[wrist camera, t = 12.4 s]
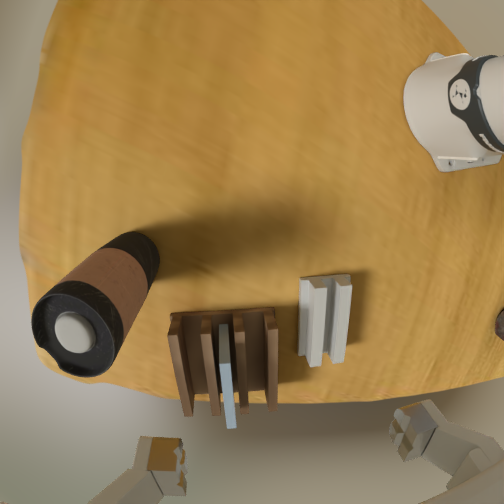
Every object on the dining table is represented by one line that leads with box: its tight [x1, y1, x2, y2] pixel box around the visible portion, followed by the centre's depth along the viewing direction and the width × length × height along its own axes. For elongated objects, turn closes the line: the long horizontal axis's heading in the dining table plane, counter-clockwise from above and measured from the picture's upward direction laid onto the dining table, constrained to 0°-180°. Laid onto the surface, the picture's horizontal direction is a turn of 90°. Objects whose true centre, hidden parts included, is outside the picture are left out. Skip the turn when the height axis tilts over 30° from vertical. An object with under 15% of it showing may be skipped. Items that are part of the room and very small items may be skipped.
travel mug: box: [32, 232, 160, 377], centre depth 29 cm, size 8×8×20 cm
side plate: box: [219, 324, 236, 429], centre depth 39 cm, size 1×11×9 cm, turn 3°
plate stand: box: [297, 274, 352, 367], centre depth 42 cm, size 7×12×4 cm, turn 2°
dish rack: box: [167, 307, 278, 416], centre depth 41 cm, size 14×14×6 cm
